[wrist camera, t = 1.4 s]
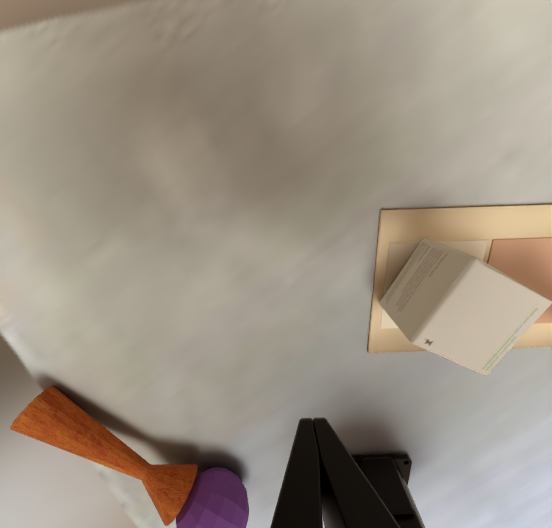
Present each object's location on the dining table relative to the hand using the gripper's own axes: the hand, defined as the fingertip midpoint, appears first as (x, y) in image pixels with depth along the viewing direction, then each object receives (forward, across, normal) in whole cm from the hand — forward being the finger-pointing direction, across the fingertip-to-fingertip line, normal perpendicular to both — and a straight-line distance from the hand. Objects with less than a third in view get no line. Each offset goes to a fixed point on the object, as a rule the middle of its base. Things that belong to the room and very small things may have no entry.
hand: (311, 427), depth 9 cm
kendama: (+12, +12, +15) cm, 23 cm away
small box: (+11, -10, 0) cm, 15 cm away
